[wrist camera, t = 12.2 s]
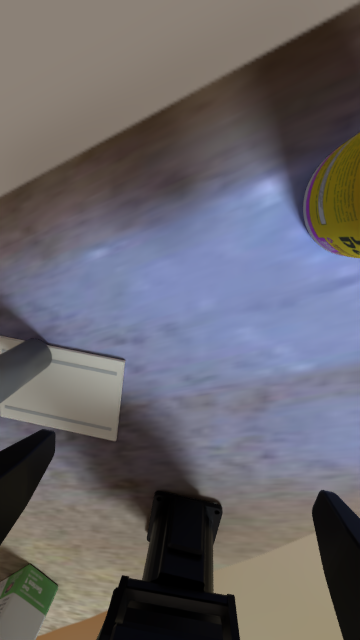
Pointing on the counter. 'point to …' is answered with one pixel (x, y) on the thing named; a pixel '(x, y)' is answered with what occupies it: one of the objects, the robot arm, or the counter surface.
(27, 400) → the paper
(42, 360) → the marker
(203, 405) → the counter surface
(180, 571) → the robot arm
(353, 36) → the counter surface
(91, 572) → the counter surface
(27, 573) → the ink box
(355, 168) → the supplement bottle
